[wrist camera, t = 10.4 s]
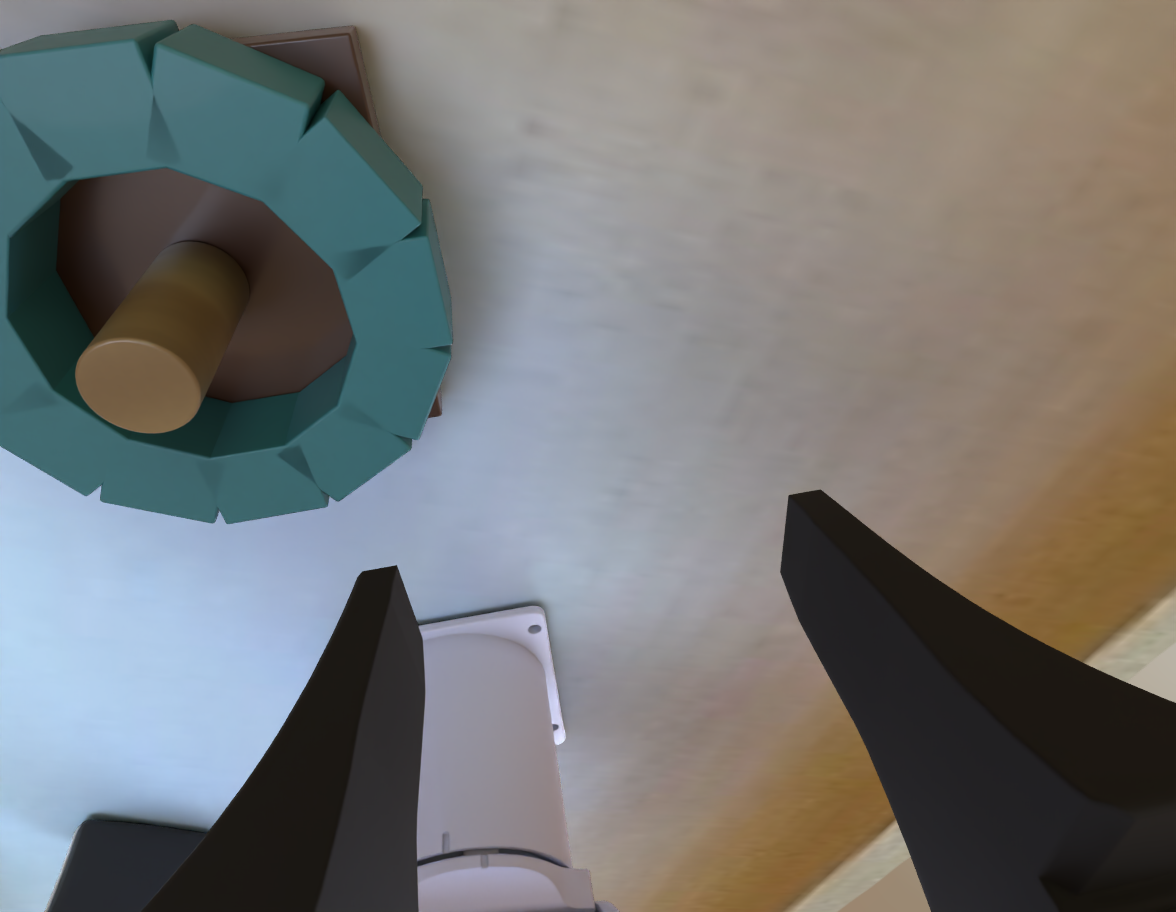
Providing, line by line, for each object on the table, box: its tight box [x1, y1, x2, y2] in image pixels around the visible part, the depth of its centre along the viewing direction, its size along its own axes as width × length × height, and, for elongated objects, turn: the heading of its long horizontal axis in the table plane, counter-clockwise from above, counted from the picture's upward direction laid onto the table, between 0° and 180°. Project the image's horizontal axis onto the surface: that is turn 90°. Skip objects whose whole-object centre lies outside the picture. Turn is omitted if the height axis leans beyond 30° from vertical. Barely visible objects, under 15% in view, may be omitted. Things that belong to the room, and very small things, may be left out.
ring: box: [0, 20, 453, 524], centre depth 17 cm, size 11×11×3 cm
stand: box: [56, 26, 442, 433], centre depth 17 cm, size 10×10×6 cm
